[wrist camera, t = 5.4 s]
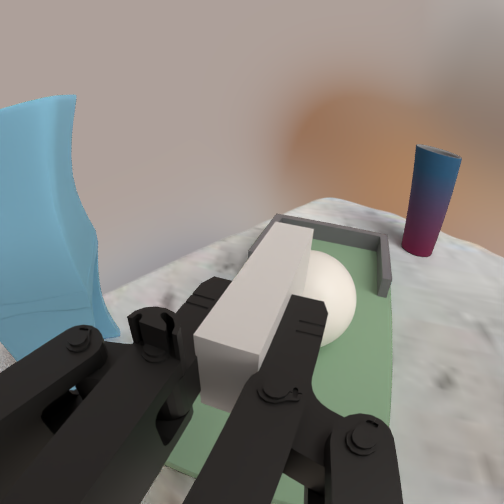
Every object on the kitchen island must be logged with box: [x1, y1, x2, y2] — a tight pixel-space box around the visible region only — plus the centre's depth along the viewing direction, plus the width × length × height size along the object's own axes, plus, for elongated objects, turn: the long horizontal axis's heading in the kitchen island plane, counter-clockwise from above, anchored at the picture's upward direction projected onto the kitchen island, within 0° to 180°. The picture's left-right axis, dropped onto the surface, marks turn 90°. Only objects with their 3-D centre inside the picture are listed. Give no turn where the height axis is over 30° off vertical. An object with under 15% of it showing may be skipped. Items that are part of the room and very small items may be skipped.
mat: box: [164, 239, 392, 504], centre depth 28 cm, size 34×16×1 cm, turn 161°
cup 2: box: [402, 144, 462, 257], centre depth 39 cm, size 7×7×15 cm
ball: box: [302, 250, 356, 347], centre depth 23 cm, size 8×8×8 cm
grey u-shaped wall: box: [248, 214, 392, 298], centre depth 36 cm, size 11×15×2 cm
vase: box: [0, 95, 120, 390], centre depth 17 cm, size 8×8×20 cm
